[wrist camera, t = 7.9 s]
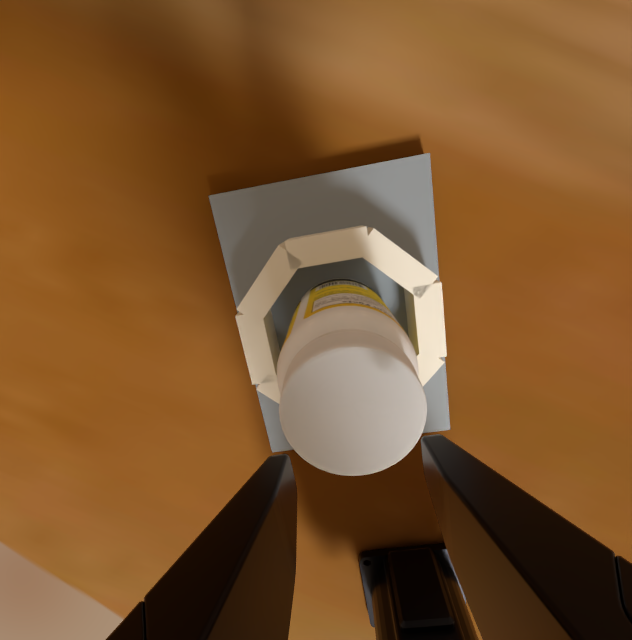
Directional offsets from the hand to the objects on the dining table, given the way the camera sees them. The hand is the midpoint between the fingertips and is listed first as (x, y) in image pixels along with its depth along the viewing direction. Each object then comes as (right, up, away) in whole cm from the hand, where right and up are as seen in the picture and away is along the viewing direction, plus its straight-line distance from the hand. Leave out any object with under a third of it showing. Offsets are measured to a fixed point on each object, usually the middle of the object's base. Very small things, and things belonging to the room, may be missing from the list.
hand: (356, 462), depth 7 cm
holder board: (0, +3, +10) cm, 11 cm away
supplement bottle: (0, +3, +10) cm, 10 cm away
